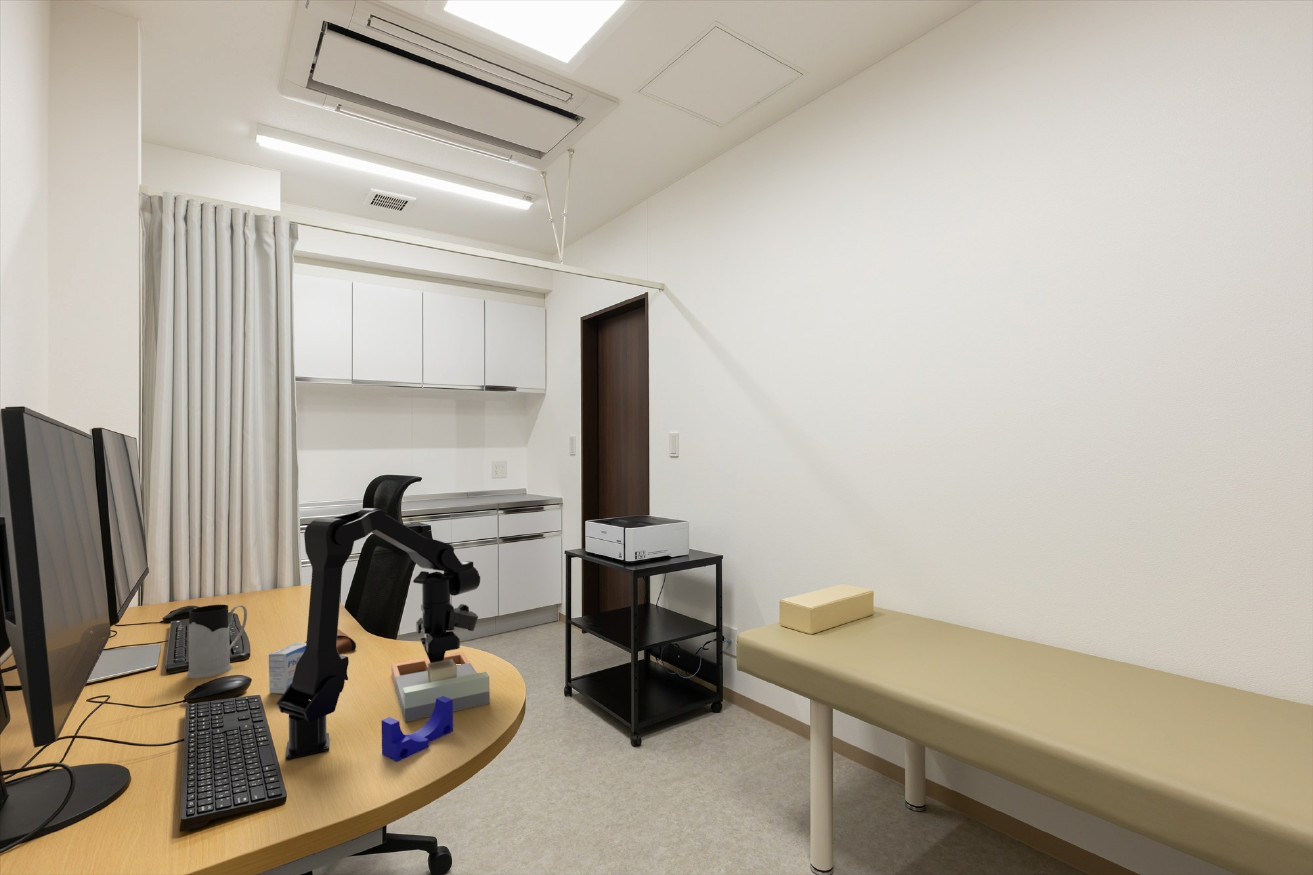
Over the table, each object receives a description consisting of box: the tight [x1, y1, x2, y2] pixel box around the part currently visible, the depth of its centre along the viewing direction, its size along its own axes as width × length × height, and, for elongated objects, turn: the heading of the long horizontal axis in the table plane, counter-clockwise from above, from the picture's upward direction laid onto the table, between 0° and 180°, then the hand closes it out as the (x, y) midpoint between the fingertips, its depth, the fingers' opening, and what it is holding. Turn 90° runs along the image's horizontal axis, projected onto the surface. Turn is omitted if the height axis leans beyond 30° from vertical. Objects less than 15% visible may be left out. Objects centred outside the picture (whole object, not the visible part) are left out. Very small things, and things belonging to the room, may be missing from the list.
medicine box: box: [268, 642, 306, 695], centre depth 134 cm, size 8×4×9 cm, turn 168°
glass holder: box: [186, 604, 248, 679], centre depth 147 cm, size 9×14×15 cm, turn 166°
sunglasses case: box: [304, 628, 357, 655], centre depth 162 cm, size 18×7×7 cm
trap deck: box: [390, 651, 491, 723], centre depth 131 cm, size 28×16×6 cm, turn 29°
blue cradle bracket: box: [381, 696, 454, 763], centre depth 107 cm, size 12×4×6 cm, turn 144°
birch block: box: [428, 659, 457, 683], centre depth 127 cm, size 5×5×4 cm
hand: (437, 672), depth 131 cm, fingers closed
